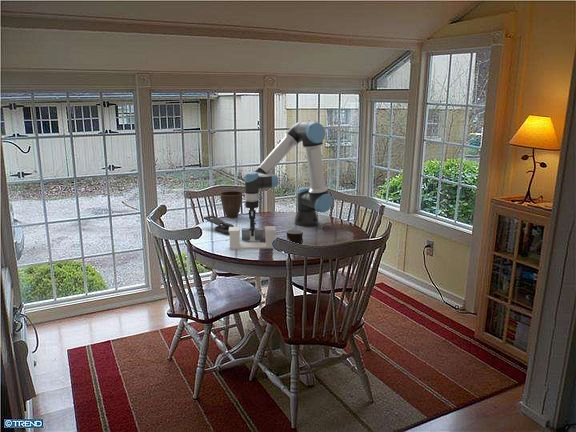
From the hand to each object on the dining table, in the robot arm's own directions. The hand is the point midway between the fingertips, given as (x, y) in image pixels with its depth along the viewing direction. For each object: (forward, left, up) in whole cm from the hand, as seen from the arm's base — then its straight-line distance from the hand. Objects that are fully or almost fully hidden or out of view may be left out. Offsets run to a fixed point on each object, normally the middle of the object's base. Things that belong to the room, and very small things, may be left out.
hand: (252, 238), depth 278 cm
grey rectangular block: (0, 0, 0) cm, 0 cm away
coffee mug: (-22, +23, 0) cm, 32 cm away
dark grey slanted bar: (+19, -20, -1) cm, 28 cm away
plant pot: (+14, -53, 0) cm, 55 cm away
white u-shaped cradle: (0, +14, 0) cm, 14 cm away
